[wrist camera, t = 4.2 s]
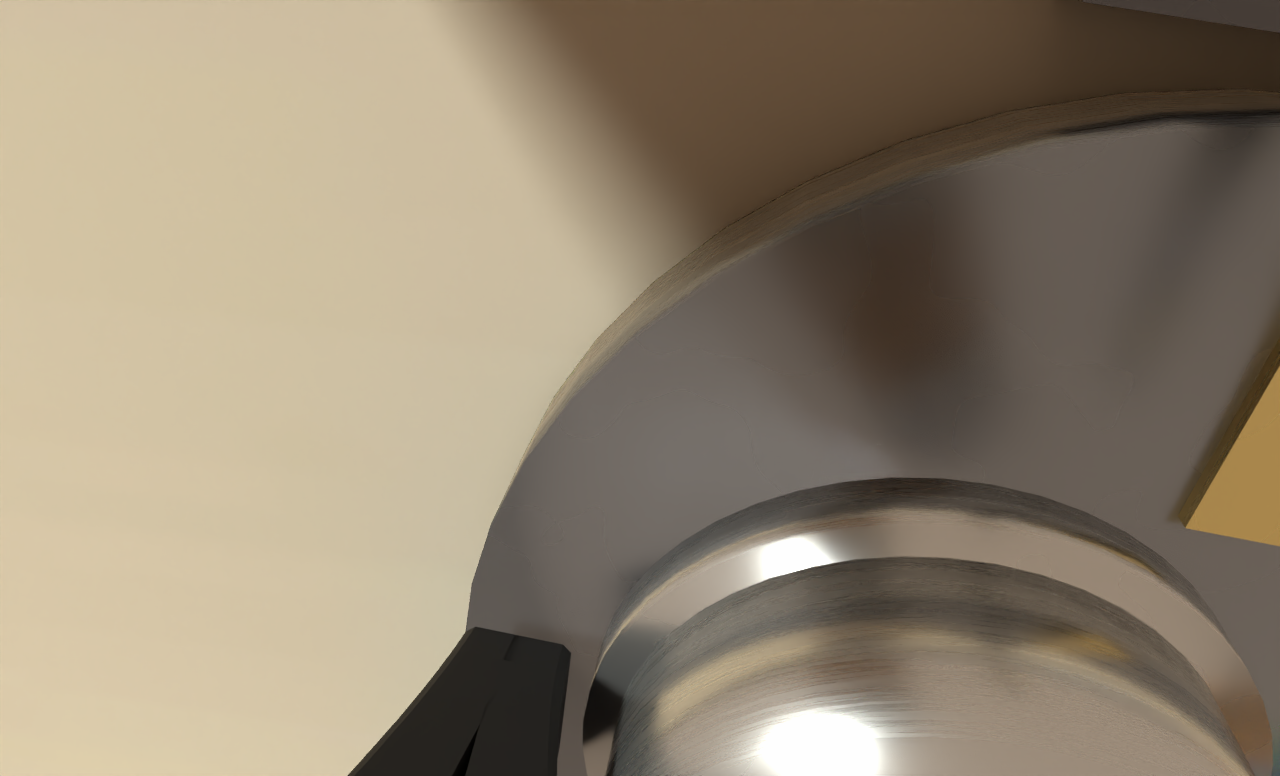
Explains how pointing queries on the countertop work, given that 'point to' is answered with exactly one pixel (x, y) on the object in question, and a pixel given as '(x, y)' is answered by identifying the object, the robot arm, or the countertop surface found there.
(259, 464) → the countertop surface
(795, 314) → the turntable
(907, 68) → the countertop surface
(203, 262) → the countertop surface
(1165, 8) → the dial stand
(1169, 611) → the cover
